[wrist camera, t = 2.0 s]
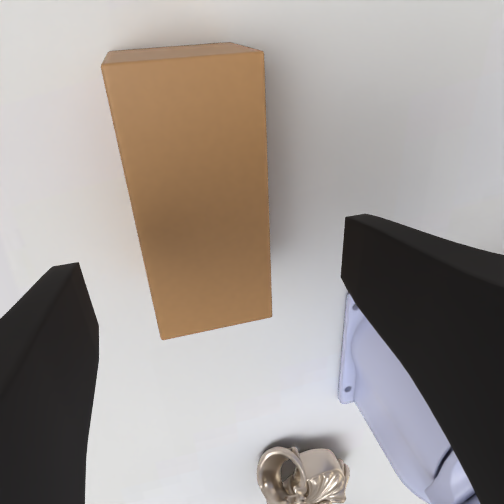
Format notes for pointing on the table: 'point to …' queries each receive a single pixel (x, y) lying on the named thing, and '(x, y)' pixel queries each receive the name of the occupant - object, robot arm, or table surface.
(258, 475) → the ornament
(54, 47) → the table surface
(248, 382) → the table surface
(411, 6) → the table surface
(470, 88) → the table surface
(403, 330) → the robot arm
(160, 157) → the cardboard box
